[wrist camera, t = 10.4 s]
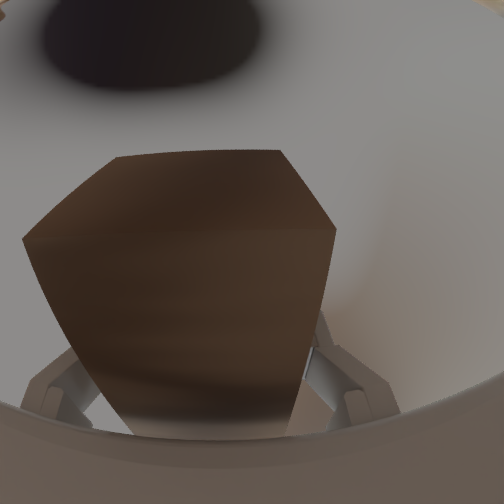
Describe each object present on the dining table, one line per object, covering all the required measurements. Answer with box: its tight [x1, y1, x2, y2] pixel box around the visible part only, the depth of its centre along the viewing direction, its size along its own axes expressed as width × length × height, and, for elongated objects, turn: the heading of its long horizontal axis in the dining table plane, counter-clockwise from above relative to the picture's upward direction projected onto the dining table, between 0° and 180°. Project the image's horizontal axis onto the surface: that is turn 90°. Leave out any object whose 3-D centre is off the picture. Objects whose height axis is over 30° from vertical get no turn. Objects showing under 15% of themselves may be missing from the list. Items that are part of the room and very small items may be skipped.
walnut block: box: [22, 150, 336, 440], centre depth 9 cm, size 5×5×10 cm
